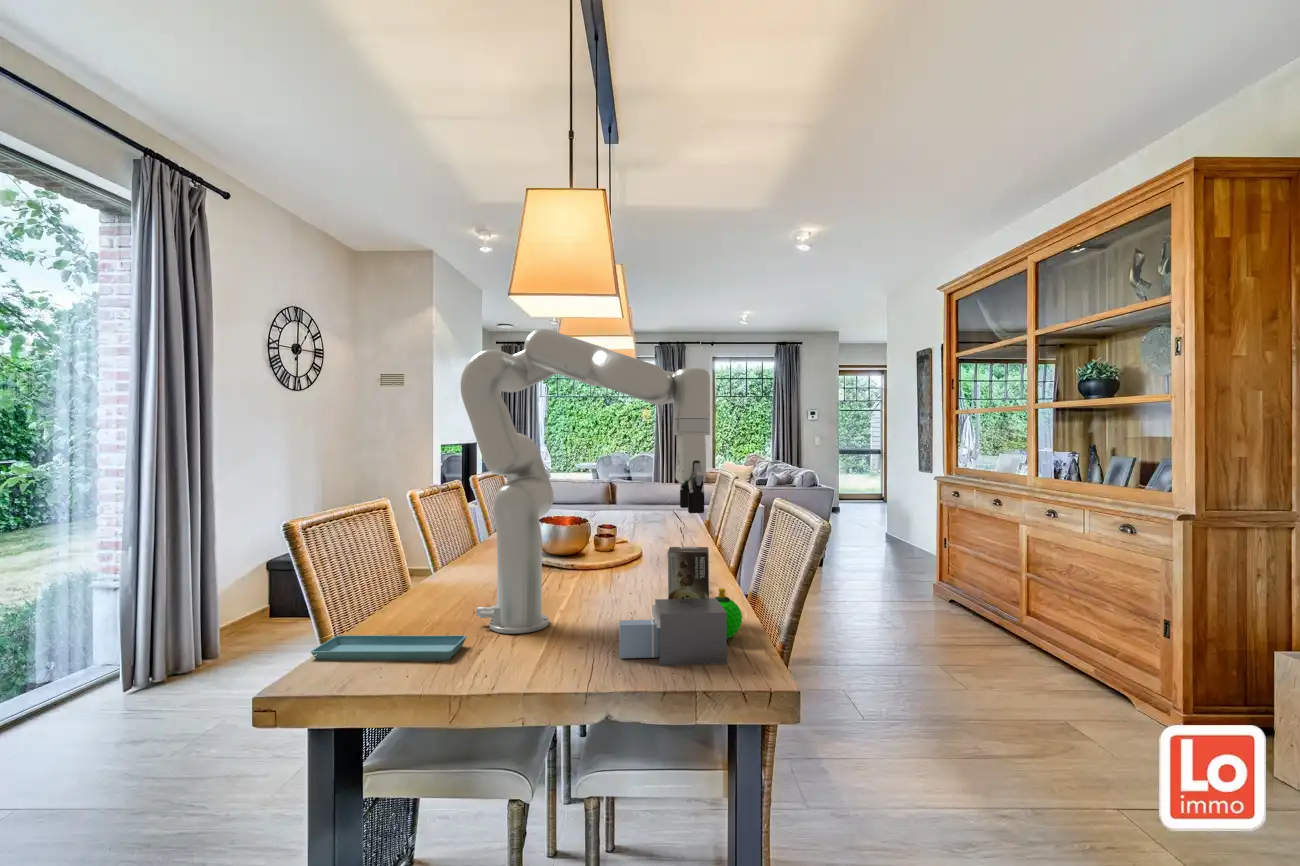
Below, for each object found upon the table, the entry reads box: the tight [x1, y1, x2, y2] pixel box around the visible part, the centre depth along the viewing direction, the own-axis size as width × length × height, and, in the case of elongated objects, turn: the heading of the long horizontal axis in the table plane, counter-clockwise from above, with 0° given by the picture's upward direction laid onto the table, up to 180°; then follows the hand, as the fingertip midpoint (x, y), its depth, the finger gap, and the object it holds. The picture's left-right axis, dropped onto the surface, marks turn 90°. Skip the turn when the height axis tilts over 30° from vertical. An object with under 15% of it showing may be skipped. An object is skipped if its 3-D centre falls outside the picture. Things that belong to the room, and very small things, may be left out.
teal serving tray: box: [310, 634, 468, 662], centre depth 116 cm, size 26×9×2 cm, turn 88°
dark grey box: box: [651, 597, 728, 667], centre depth 114 cm, size 13×10×9 cm
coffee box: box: [667, 546, 710, 599], centre depth 135 cm, size 9×6×16 cm
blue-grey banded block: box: [619, 619, 659, 659], centre depth 114 cm, size 14×3×6 cm, turn 95°
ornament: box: [714, 587, 743, 640], centre depth 124 cm, size 8×8×10 cm
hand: (691, 510), depth 127 cm, fingers open, 9 cm apart
